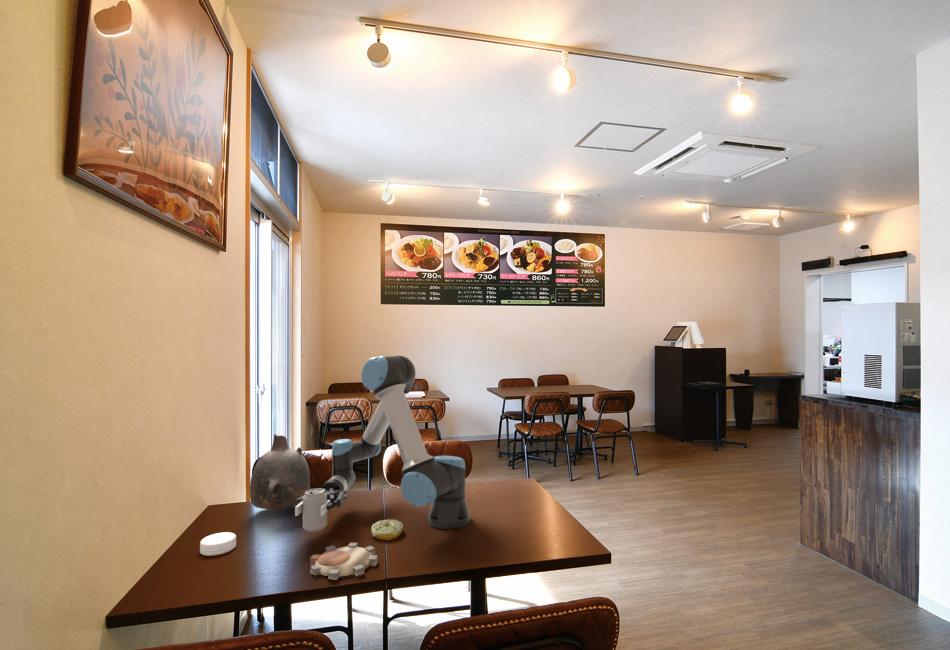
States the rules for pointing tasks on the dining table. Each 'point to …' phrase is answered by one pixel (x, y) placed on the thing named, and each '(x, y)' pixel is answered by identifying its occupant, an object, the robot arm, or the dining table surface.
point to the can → (314, 510)
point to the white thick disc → (217, 543)
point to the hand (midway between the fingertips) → (309, 511)
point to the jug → (279, 477)
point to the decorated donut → (387, 529)
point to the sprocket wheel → (343, 561)
